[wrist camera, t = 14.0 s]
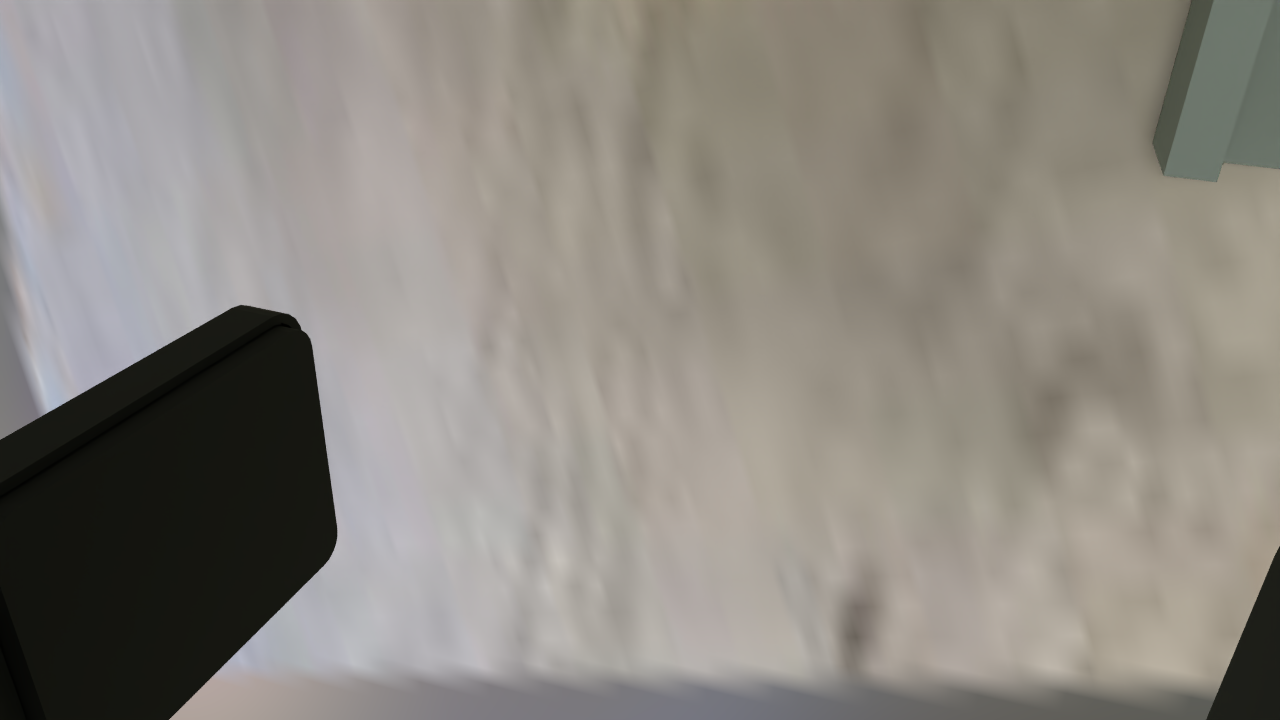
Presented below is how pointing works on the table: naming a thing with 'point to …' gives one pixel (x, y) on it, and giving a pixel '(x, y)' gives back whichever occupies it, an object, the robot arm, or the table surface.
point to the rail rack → (1223, 91)
